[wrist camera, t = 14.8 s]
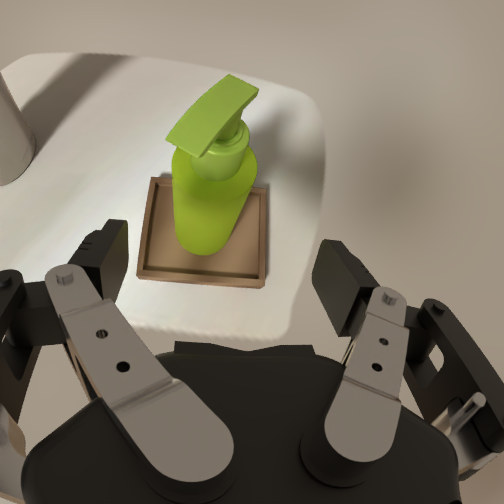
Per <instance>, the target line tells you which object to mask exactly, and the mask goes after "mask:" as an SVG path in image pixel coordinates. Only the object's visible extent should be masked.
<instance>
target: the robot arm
mask: <svg viewBox="0 0 504 504" xmlns="http://www.w3.org/2000/svg"><path fill="white" fill-rule="evenodd" d="M35 146H36V142H35V138H34V136H33V134H32V132H31V130H30V129H29V127H28V125H27V123H26V121H25V120H24V118H23V116H22V114H21V112H20V110H19V108H18V107H17V105H16V103H15V101H14V99H13V97H12V95H11V93H10V91H9V89H8V87H7V85H6V83H5V81H4V79H3V77H2V75H1V72H0V186H2V185H6V184H8V183H10V182H12V181H13V180H15V179H16V178H18V177H19V176H20V175H21V174H22V173H23V172H24V170H25V169H26V168H27V167H28V165H29V163H30V162H31V160H32V158H33V155H34V152H35ZM128 259H129V253H128V223H127V220H116V219H109V220H108V221H107V222H106V224H105V225H104V227H103V228H102V230H95V231H93V232H92V233H90V234H88V235H87V236H86V237H85V239H84V240H83V241H82V244H80V246H79V247H78V249H77V250H76V251H75V253H74V254H73V256H72V257H71V259H70V260H69V262H68V263H67V264H64V265H59V266H56V267H54V268H52V269H51V270H50V271H48V272H47V274H46V275H45V281H40V282H30V283H24V280H23V276H22V274H21V273H20V272H19V271H17V270H13V269H9V270H3V271H0V497H1V498H3V499H6V500H9V501H11V502H14V503H17V504H462V501H461V497H460V491H459V481H464V480H466V479H468V478H469V477H470V476H472V475H473V474H475V473H476V472H477V471H479V470H480V469H482V468H483V467H484V466H485V465H487V464H488V463H489V462H491V461H492V460H493V459H494V458H496V457H497V456H498V455H499V454H501V453H502V452H503V451H504V383H503V382H502V380H501V379H500V377H499V376H498V374H497V373H496V371H495V370H494V368H493V367H492V365H491V364H490V362H489V361H488V360H487V358H486V357H485V355H484V354H483V352H482V351H481V350H480V348H479V347H478V346H477V344H476V343H475V341H474V340H473V339H472V338H471V336H470V335H469V333H468V332H467V331H466V330H465V328H464V327H463V326H462V324H461V323H460V322H459V320H458V319H457V318H456V317H455V315H454V314H453V313H452V312H451V310H450V309H449V308H448V307H447V306H446V305H444V304H443V303H441V302H440V301H437V300H435V299H425V300H424V302H423V304H422V306H421V308H420V309H419V308H415V307H411V306H407V302H406V300H405V298H404V297H403V296H402V295H401V294H400V293H398V292H397V291H395V290H393V289H391V288H387V287H381V286H380V285H379V284H378V283H377V281H376V280H375V279H374V277H373V276H372V275H371V274H370V273H369V271H368V270H367V268H365V266H364V265H363V263H362V262H361V261H360V260H359V259H358V258H357V257H355V256H354V255H353V254H351V253H350V252H349V250H348V249H347V248H346V247H345V245H344V244H343V243H342V242H341V241H336V240H327V239H324V240H323V241H322V243H321V245H320V248H319V251H318V255H317V258H316V261H315V264H314V268H313V271H312V284H313V286H314V288H315V290H316V292H317V294H318V296H319V298H320V300H321V302H322V304H323V306H324V308H325V310H326V312H327V315H328V317H329V319H330V320H331V323H332V325H333V327H334V329H335V331H336V333H337V335H338V337H346V336H347V337H349V336H351V340H350V342H349V344H348V346H347V348H346V351H345V353H344V355H343V358H342V360H341V362H340V363H339V362H337V361H335V360H333V359H330V358H327V357H324V356H320V355H316V354H315V352H314V349H313V346H312V345H279V346H274V347H269V348H264V349H259V350H253V351H242V350H238V349H233V348H228V347H224V346H220V345H215V344H211V343H197V342H181V341H175V346H174V351H173V352H167V353H162V354H158V355H156V356H154V355H153V354H152V353H151V352H150V350H149V349H148V348H147V346H146V345H145V344H144V343H143V341H142V340H141V339H140V337H139V336H138V335H137V334H136V332H135V331H134V330H133V328H132V327H131V326H130V324H129V323H128V322H127V320H126V319H125V317H124V316H123V315H122V313H121V312H120V311H119V309H118V308H117V306H116V305H115V302H116V299H117V296H118V293H119V291H120V288H121V285H122V282H123V280H124V277H125V274H126V272H127V268H128ZM4 335H6V336H5V338H4V340H3V342H2V339H3V337H4ZM54 344H62V345H63V348H64V350H65V352H66V354H67V357H68V359H69V361H70V363H71V365H72V367H73V369H74V371H75V373H76V375H77V377H78V379H79V381H80V383H81V385H82V387H83V390H84V392H85V394H86V396H87V398H88V400H89V402H90V403H89V404H88V405H86V406H85V407H84V408H82V409H81V410H80V411H79V412H77V413H76V414H75V415H74V416H73V417H71V418H70V419H68V420H67V421H66V422H65V423H63V424H62V425H61V426H60V427H58V428H57V429H56V430H55V431H53V432H52V433H51V434H49V435H48V436H47V437H46V438H44V439H43V440H42V441H41V442H39V443H38V444H37V445H36V446H35V447H34V448H33V449H32V450H31V451H30V452H29V454H28V455H27V457H26V452H25V446H26V445H25V444H26V442H25V436H24V434H23V432H22V430H21V429H20V427H19V426H18V425H17V424H18V420H19V416H20V413H21V409H22V405H23V402H24V398H25V395H26V391H27V388H28V385H29V382H30V378H31V376H32V373H33V370H34V367H35V364H36V361H37V358H38V355H39V353H40V350H41V347H42V346H45V345H54ZM436 344H437V346H438V347H439V349H440V350H441V352H442V353H443V356H444V364H443V366H442V368H441V369H440V371H439V372H437V370H436V368H435V366H434V365H433V363H432V361H431V360H430V358H429V354H430V353H431V351H432V350H433V348H434V347H435V345H436ZM402 376H404V378H405V380H406V382H407V384H408V387H409V389H410V391H411V393H412V395H413V397H414V398H415V401H416V403H417V405H418V407H419V409H420V411H421V414H422V416H423V418H424V419H422V418H421V417H419V416H418V415H416V414H415V413H413V412H412V411H410V410H409V409H407V408H406V407H404V406H403V405H401V401H400V400H399V391H400V387H401V381H402Z"/></svg>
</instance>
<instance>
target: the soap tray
mask: <svg viewBox="0 0 504 504" xmlns="http://www.w3.org/2000/svg"><path fill="white" fill-rule="evenodd" d="M265 246H266V189H263V188H255V187H252V188H251V190H250V192H249V194H248V196H247V199H246V201H245V203H244V205H243V208H242V210H241V212H240V214H239V216H238V219H237V221H236V223H235V225H234V228H233V230H232V232H231V234H230V237H229V239H228V241H227V243H226V244H225V246H224V247H223V248H222V249H220V250H219V251H218V252H216V253H213V254H210V255H196V254H193V253H191V252H189V251H187V250H186V249H184V248H183V247H182V246H181V244H180V243H179V241H178V239H177V237H176V233H175V220H174V204H173V186H172V178H160V177H151V181H150V186H149V191H148V197H147V202H146V208H145V214H144V221H143V227H142V234H141V241H140V248H139V256H138V264H137V273H136V276H137V277H138V278H139V279H144V280H155V281H166V282H177V283H189V284H201V285H214V286H227V287H241V288H256V289H260V288H262V287H263V286H265Z"/></svg>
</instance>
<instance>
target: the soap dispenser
mask: <svg viewBox="0 0 504 504" xmlns="http://www.w3.org/2000/svg"><path fill="white" fill-rule="evenodd" d="M258 91H259V89H258V88H256V87H254V86H252V85H250V84H249V83H247V82H245V81H243V80H241V79H239V78H237V77H235V76H232V75H230V74H228V75H227V76H226V77H224V78H223V79H222V80H220V81H219V82H218V83H217V84H215V85H214V86H213V87H212V88H210V89H209V90H208V91H207V92H206V93H205V94H204V95H202V96H201V97H200V98H199V99H198V100H197V101H196V102H195V103H194V104H193V105H192V106H191V107H190V108H189V110H188V111H187V112H186V113H185V114H184V115H183V116H182V118H181V119H180V120H179V121H178V122H177V124H176V125H175V126H174V128H173V129H172V130H171V131H170V133H169V134H168V136H167V137H166V140H167V141H168V142H170V143H172V144H173V145H175V146H177V148H176V150H175V152H174V155H173V158H172V186H173V204H174V220H175V233H176V237H177V239H178V241H179V243H180V244H181V246H182V247H183V248H184V249H186V250H187V251H189V252H191V253H193V254H196V255H210V254H213V253H216V252H218V251H219V250H220V249H222V248H223V247H224V246H225V244H226V243H227V241H228V239H229V237H230V234H231V232H232V230H233V228H234V225H235V223H236V221H237V219H238V216H239V214H240V212H241V210H242V208H243V205H244V203H245V201H246V199H247V196H248V194H249V192H250V190H251V188H252V186H253V183H254V181H255V179H256V175H257V161H256V157H255V155H254V153H253V151H252V149H251V148H250V147H249V146H248V143H249V138H250V133H249V129H248V127H247V125H246V124H245V122H244V121H243V120H241V115H242V112H243V109H244V108H245V107H246V106H247V105H248V104H249V103H250V102H251V101H252V100H253V99H254V98H255V97H256V96H257V94H258Z"/></svg>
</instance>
